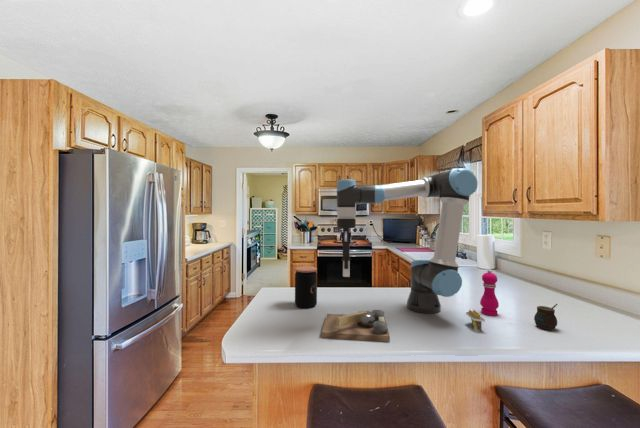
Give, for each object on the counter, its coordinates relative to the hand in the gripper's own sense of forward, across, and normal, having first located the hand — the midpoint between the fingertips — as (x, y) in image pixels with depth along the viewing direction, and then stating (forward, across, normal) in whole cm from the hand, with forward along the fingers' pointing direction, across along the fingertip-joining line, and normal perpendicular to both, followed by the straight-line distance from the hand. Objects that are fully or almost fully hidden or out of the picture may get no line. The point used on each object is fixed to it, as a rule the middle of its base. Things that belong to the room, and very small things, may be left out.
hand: (346, 276), depth 116 cm
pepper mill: (+20, -22, +64) cm, 70 cm away
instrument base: (+20, +4, +4) cm, 20 cm away
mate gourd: (+20, -8, +79) cm, 82 cm away
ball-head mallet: (+17, +7, +4) cm, 19 cm away
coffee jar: (+20, -21, -20) cm, 35 cm away
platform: (+21, -5, +51) cm, 55 cm away
